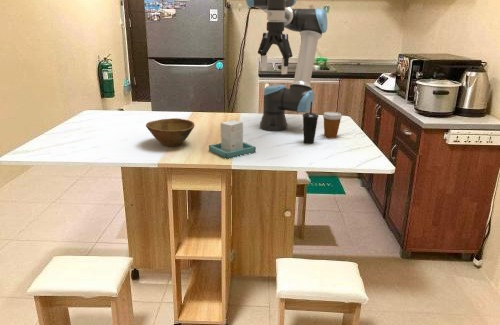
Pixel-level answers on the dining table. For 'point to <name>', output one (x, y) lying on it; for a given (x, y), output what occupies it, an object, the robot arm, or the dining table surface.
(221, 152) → the tray
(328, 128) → the disposable coffee cup
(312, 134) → the drinking cup
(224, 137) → the small box
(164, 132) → the bowl
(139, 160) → the dining table surface
